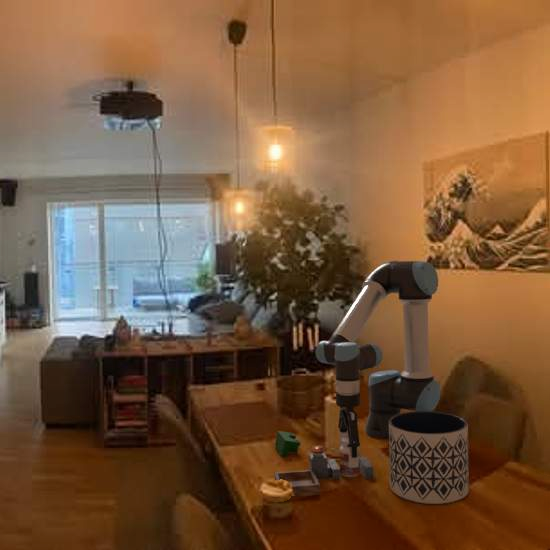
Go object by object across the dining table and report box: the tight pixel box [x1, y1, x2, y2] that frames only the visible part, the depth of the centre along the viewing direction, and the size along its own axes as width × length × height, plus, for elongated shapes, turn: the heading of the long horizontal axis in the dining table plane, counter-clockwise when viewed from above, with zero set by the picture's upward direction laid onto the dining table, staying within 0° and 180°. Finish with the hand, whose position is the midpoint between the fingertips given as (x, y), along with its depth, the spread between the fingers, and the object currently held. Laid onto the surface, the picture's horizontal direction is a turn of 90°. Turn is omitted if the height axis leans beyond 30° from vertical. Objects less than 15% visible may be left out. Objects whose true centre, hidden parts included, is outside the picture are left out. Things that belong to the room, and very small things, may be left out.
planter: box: [388, 410, 470, 505], centre depth 186 cm, size 22×22×20 cm
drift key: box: [310, 445, 325, 458], centre depth 200 cm, size 4×4×7 cm
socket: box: [308, 452, 374, 482], centre depth 200 cm, size 19×9×6 cm, turn 96°
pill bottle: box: [339, 437, 361, 478], centre depth 201 cm, size 6×6×11 cm
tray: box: [273, 469, 321, 497], centre depth 191 cm, size 12×12×3 cm
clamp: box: [274, 430, 302, 457], centre depth 224 cm, size 12×6×9 cm, turn 7°
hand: (348, 459), depth 200 cm, fingers open, 13 cm apart
